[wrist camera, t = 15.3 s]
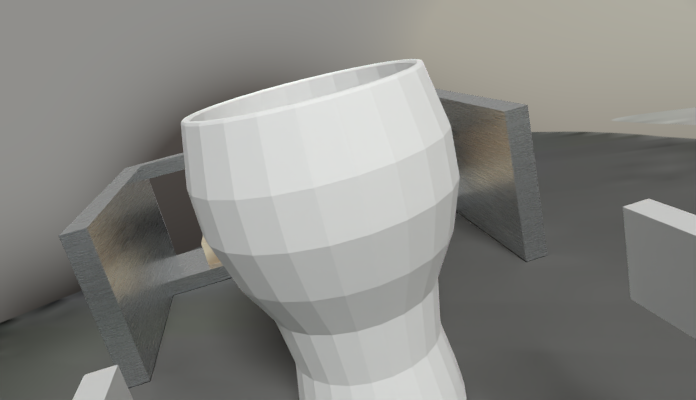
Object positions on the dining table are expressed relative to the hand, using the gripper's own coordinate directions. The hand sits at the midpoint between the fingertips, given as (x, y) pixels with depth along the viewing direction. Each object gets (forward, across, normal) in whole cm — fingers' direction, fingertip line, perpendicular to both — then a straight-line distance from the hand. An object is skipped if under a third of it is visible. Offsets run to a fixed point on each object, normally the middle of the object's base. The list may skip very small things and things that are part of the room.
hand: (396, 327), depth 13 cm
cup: (+10, 0, -10) cm, 14 cm away
